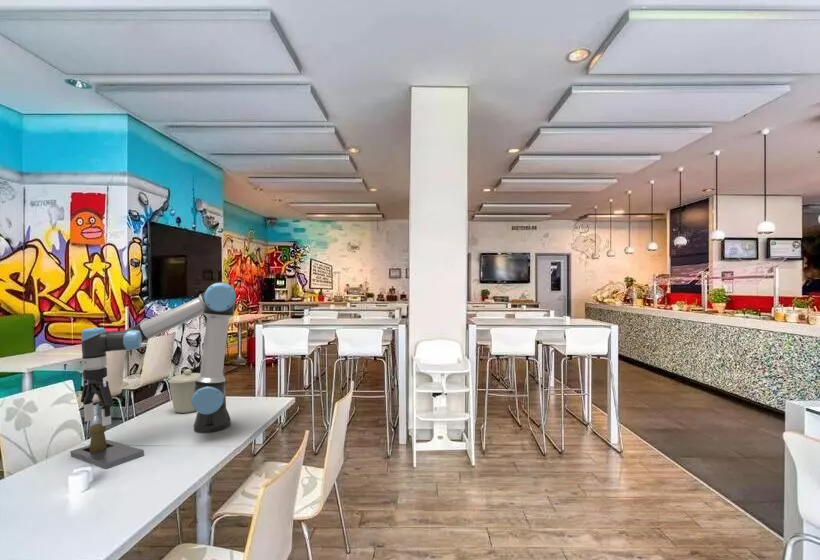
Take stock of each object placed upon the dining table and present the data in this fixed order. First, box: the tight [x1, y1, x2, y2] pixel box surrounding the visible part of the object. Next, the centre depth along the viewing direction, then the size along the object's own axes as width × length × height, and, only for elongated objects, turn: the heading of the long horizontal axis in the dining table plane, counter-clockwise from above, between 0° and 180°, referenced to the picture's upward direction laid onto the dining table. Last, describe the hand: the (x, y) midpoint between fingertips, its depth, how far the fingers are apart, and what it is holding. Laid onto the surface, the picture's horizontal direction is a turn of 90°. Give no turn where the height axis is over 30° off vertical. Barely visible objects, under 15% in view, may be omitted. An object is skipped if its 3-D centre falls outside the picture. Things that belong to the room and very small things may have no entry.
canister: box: [167, 368, 200, 414], centre depth 223 cm, size 18×18×21 cm
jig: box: [70, 439, 145, 470], centre depth 165 cm, size 26×13×2 cm, turn 60°
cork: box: [89, 423, 107, 453], centre depth 169 cm, size 6×6×11 cm
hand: (97, 422), depth 169 cm, fingers open, 13 cm apart
